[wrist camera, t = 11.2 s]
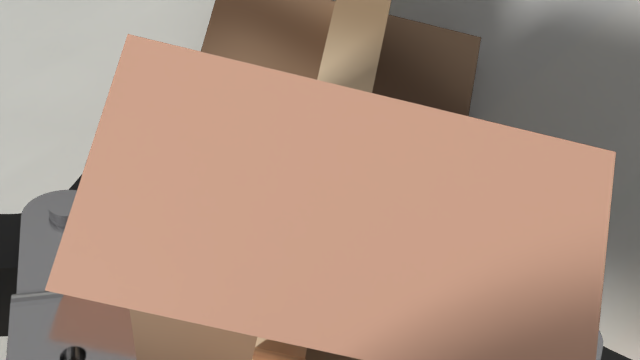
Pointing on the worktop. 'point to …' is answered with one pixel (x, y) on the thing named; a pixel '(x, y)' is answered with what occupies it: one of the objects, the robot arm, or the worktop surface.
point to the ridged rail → (333, 67)
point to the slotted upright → (334, 216)
